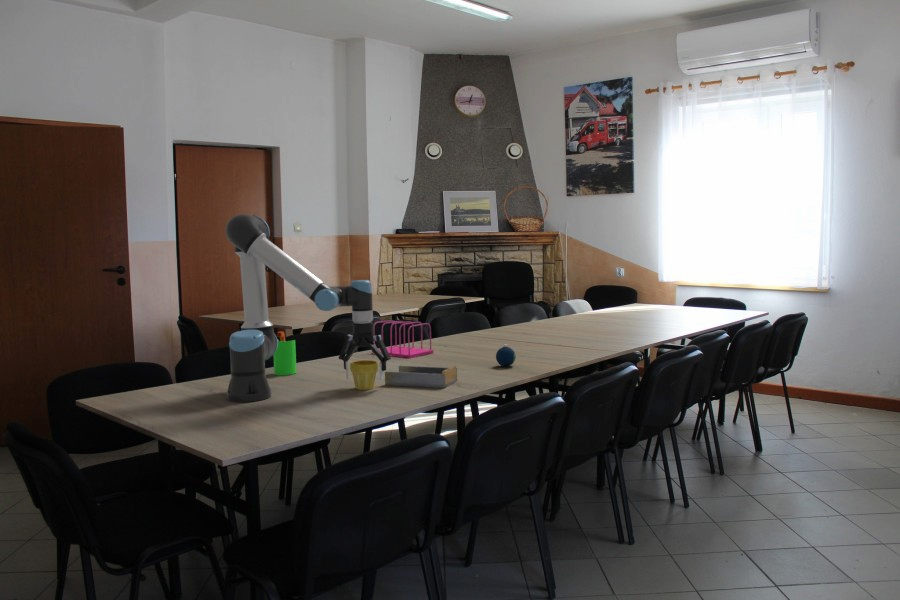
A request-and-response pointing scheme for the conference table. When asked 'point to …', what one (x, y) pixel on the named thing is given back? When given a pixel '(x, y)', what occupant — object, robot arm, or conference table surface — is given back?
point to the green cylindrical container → (285, 356)
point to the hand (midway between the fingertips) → (365, 378)
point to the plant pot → (364, 373)
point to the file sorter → (404, 350)
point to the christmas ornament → (505, 356)
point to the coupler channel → (422, 376)
